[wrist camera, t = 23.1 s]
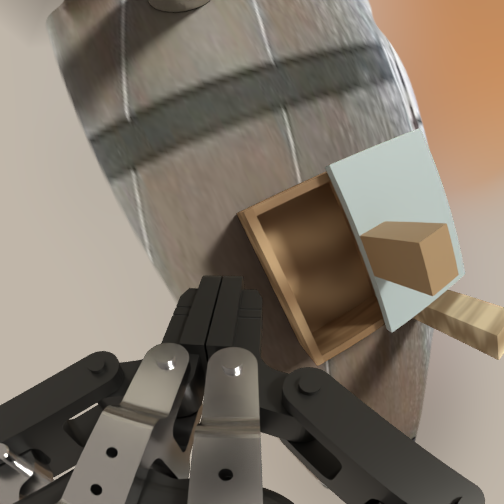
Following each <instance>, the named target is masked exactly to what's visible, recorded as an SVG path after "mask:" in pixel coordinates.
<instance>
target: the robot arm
mask: <svg viewBox="0 0 504 504" xmlns="http://www.w3.org/2000/svg"><path fill="white" fill-rule="evenodd" d="M208 1H210V0H148V2H149V4H150V5H152V6H153V7H154V8H156V9H158V10H162V11H167V12H181V11H187V10H191V9H195V8H197V7H200V6H202V5H204V4H206V3H207V2H208ZM261 347H262V297H261V296H260V294H259V292H258V291H257V290H244V277H243V276H203V277H202V279H201V282H200V285H199V288H198V289H195V288H189V289H188V290H187V291H186V292H185V293H184V294H183V295H182V296H181V297H180V299H179V301H178V304H177V308H176V309H175V311H174V313H173V316H172V318H171V321H170V323H169V326H168V328H167V331H166V333H165V336H164V338H163V341H162V343H161V344H159V345H156V346H154V347H153V348H151V349H150V350H149V351H148V352H147V353H146V355H145V357H144V359H142V360H138V361H130V362H123V363H119V361H118V359H117V357H116V356H115V355H114V354H112V353H110V352H106V351H100V352H95V353H92V354H90V355H89V356H87V357H85V358H83V359H81V360H80V361H78V362H76V363H74V364H73V365H71V366H69V367H67V368H66V369H64V370H63V371H60V372H59V373H57V374H55V375H53V376H52V377H50V378H48V379H46V380H45V381H43V382H41V383H39V384H38V385H36V386H34V387H33V388H30V389H29V390H27V391H25V392H24V393H22V394H20V395H18V396H16V397H15V398H13V399H11V400H9V401H7V402H6V403H4V404H2V405H0V504H294V503H293V502H291V501H290V500H289V499H287V498H285V497H284V496H282V495H280V494H278V493H276V492H274V491H271V490H268V489H266V488H263V487H262V463H261V438H260V437H261V436H260V432H263V433H266V434H269V435H272V436H275V437H279V438H280V440H281V441H282V443H283V444H284V445H285V446H286V447H287V448H288V449H289V450H290V451H291V452H292V453H293V454H294V455H295V456H296V457H297V458H298V459H299V460H300V461H301V462H302V463H303V464H304V465H305V466H306V467H307V468H308V469H309V470H310V471H311V472H312V473H313V474H314V475H315V476H316V477H317V478H318V479H319V480H320V481H322V482H323V483H324V484H325V485H326V486H327V487H328V488H329V489H330V490H331V491H332V492H334V493H335V494H336V495H337V496H338V497H339V498H340V499H341V500H343V501H344V502H345V503H346V504H485V498H484V494H483V492H482V490H481V489H480V488H479V487H478V486H477V485H475V484H474V483H472V482H471V481H469V480H468V479H466V478H465V477H463V476H462V475H460V474H459V473H457V472H456V471H455V470H453V469H452V468H450V467H449V466H447V465H446V464H444V463H443V462H442V461H440V460H439V459H437V458H436V457H435V456H433V455H432V454H431V453H429V452H428V451H426V450H425V449H424V448H422V447H421V446H420V445H418V444H417V443H415V442H414V441H413V440H411V439H410V438H409V437H407V436H406V435H405V434H403V433H402V432H401V431H399V430H398V429H397V428H396V427H394V426H393V425H392V424H390V423H389V422H388V421H386V420H385V419H384V418H383V417H381V416H380V415H379V414H377V413H376V412H375V411H374V410H372V409H371V408H370V407H368V406H367V405H366V404H365V403H363V402H362V401H361V400H360V399H358V398H357V397H356V396H355V395H353V394H352V393H351V392H350V391H348V390H347V389H346V388H345V387H343V386H342V385H341V384H340V383H339V382H337V381H336V380H335V379H334V378H332V377H331V376H330V375H329V374H328V373H326V372H325V371H323V370H320V369H317V368H312V367H306V368H300V369H297V370H295V371H293V372H291V373H290V374H287V373H284V372H280V371H277V370H274V369H272V368H270V367H269V366H267V365H266V364H265V363H264V362H263V360H262V359H261ZM203 396H204V400H203ZM202 401H203V403H202ZM95 403H98V405H97V406H95V407H94V408H92V409H90V410H89V411H87V412H85V413H84V414H82V415H80V416H78V417H77V418H75V419H72V420H69V419H70V418H72V417H73V416H75V415H77V414H78V413H80V412H82V411H84V410H85V409H87V408H88V407H90V406H92V405H93V404H95ZM201 415H202V418H201ZM200 418H201V422H200ZM199 422H200V424H199ZM192 446H193V450H192V461H191V470H190V453H191V449H192ZM75 465H76V467H75V468H74V469H73V470H71V471H70V472H68V473H66V474H64V475H63V476H61V477H60V478H58V479H56V480H54V479H53V477H55V476H57V475H59V474H61V473H63V472H64V471H66V470H68V469H70V468H72V467H73V466H75ZM189 472H190V478H188V477H189Z"/></svg>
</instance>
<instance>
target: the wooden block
mask: <svg viewBox="0 0 504 504" xmlns="http://www.w3.org/2000/svg"><path fill="white" fill-rule="evenodd" d="M413 318H414V319H416V320H418V321H420V322H422V323H424V324H426V325H428V326H430V327H432V328H434V329H436V330H439V331H441V332H443V333H445V334H447V335H449V336H451V337H453V338H455V339H457V340H459V341H461V342H463V343H465V344H467V345H469V346H471V347H473V348H475V349H477V350H479V351H481V352H483V353H485V354H487V355H490V356H491V357H494V358H495V359H497V360H499V359H500V358H501V357H502V355H503V354H504V307H501V306H498V305H495V304H492V303H488V302H485V301H482V300H479V299H476V298H472V297H470V296H466V295H463V294H460V293H457V292H453V291H450V290H447V291H445V292H444V293H443V294H442V295H441V296H439V297H438V298H437V299H436V300H435V301H433V302H432V303H431V304H430V305H428V306H427V307H426V308H424V309H423V310H422V311H421V312H419V313H418V314H417V315H415V316H414V317H413Z"/></svg>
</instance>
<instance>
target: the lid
mask: <svg viewBox="0 0 504 504" xmlns="http://www.w3.org/2000/svg"><path fill="white" fill-rule="evenodd" d="M325 169H326V171H327V173H328V175H329V177H330V180H331V182H332V184H333V186H334V188H335V191H336V193H337V195H338V197H339V200H340V202H341V204H342V207H343V209H344V211H345V214H346V216H347V219H348V221H349V224H350V226H351V228H352V231H353V233H354V236H355V239H356V241H357V244H358V246H359V249H360V252H361V254H362V257H363V260H364V262H365V265H366V268H367V271H368V273H369V276H370V279H371V282H372V285H373V288H374V291H375V294H376V297H377V300H378V303H379V306H380V309H381V312H382V315H383V319H384V322H385V325H386V329H387V330H389V331H390V332H394V331H395V330H396V329H398V328H399V327H401V326H402V325H403V324H405V323H406V322H407V321H409V320H410V319H411V318H413V317H414V316H415V315H417V314H418V313H419V312H421V311H422V310H423V309H424V308H426V307H427V306H428V305H430V304H431V303H432V302H433V301H435V300H436V299H437V298H438V297H439V296H441V295H442V294H443V293H444V292H445V291H447V290H448V289H449V288H450V287H451V286H452V285H454V284H455V283H456V282H457V281H458V280H459V279H460V278H461V277H462V276H464V275H465V269H464V264H463V259H462V255H461V250H460V246H459V241H458V237H457V233H456V229H455V225H454V221H453V218H452V214H451V211H450V207H449V204H448V200H447V197H446V194H445V191H444V188H443V185H442V182H441V179H440V176H439V173H438V171H437V168H436V165H435V163H434V160H433V157H432V155H431V152H430V150H429V148H428V145H427V143H426V140H425V138H424V136H423V133H422V131H421V129H420V128H419V129H416V130H414V131H411V132H409V133H406V134H403V135H401V136H398V137H396V138H393V139H391V140H388V141H386V142H383V143H381V144H378V145H376V146H373V147H371V148H369V149H366V150H364V151H361V152H359V153H357V154H354V155H352V156H350V157H347V158H345V159H342V160H340V161H338V162H335V163H333V164H331V165H329V166H326V167H325Z"/></svg>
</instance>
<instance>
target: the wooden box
mask: <svg viewBox="0 0 504 504" xmlns="http://www.w3.org/2000/svg"><path fill="white" fill-rule="evenodd" d="M236 214H237V216H238V218H239V220H240V222H241V224H242V226H243V228H244V230H245V232H246V234H247V236H248V238H249V240H250V242H251V245H252V247H253V249H254V251H255V253H256V255H257V257H258V259H259V261H260V263H261V265H262V267H263V269H264V271H265V273H266V275H267V277H268V279H269V281H270V284H271V286H272V288H273V290H274V292H275V294H276V296H277V298H278V300H279V302H280V304H281V306H282V308H283V310H284V312H285V314H286V316H287V319H288V321H289V323H290V325H291V327H292V329H293V331H294V333H295V335H296V337H297V339H298V341H299V343H300V344H301V346H302V347H303V348H304V350H305V351H306V352H307V353H308V355H309V356H310V357H311V359H312V360H313V361H314V363H315V364H316V365H317V366H318V365H320V364H322V363H324V362H325V361H327V360H329V359H331V358H332V357H334V356H336V355H337V354H339V353H341V352H342V351H344V350H346V349H347V348H349V347H351V346H352V345H354V344H355V343H357V342H359V341H360V340H362V339H363V338H365V337H366V336H368V335H369V334H371V333H372V332H374V331H375V330H377V329H378V328H380V327H381V326H383V325H384V324H385V322H384V319H383V315H382V312H381V309H380V306H379V303H378V300H377V297H376V294H375V291H374V288H373V285H372V282H371V279H370V276H369V273H368V271H367V268H366V265H365V262H364V260H363V257H362V254H361V252H360V249H359V246H358V244H357V241H356V239H355V236H354V233H353V231H352V228H351V226H350V224H349V221H348V219H347V216H346V214H345V211H344V209H343V207H342V204H341V202H340V200H339V197H338V195H337V193H336V191H335V188H334V186H333V184H332V182H331V180H330V177H329V175H328V173H327V171H326V172H324V173H322V174H319V175H317V176H315V177H313V178H311V179H308V180H306V181H304V182H302V183H300V184H297V185H295V186H293V187H291V188H289V189H287V190H284V191H282V192H280V193H278V194H276V195H274V196H272V197H270V198H267V199H265V200H263V201H261V202H259V203H257V204H255V205H253V206H251V207H249V208H247V209H245V210H243V211H240V212H238V213H236Z"/></svg>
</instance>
